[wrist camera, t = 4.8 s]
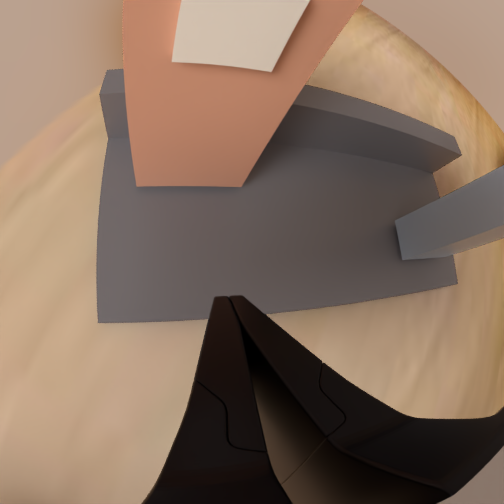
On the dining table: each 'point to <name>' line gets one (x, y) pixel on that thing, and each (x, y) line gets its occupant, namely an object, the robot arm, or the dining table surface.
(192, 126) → the terracotta key
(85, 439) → the dining table surface
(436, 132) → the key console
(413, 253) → the slate key
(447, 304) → the dining table surface
